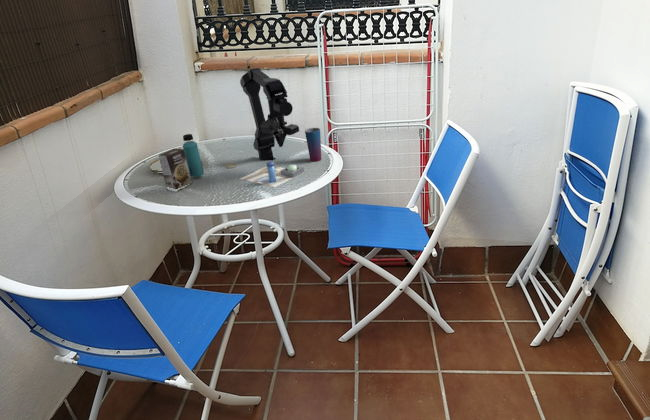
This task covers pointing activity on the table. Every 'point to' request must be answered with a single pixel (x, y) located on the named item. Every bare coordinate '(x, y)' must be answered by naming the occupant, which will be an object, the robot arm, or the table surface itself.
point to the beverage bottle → (192, 156)
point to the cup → (314, 143)
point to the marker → (271, 172)
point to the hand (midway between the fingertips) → (281, 146)
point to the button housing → (292, 174)
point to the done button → (291, 168)
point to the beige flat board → (267, 177)
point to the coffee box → (175, 168)
